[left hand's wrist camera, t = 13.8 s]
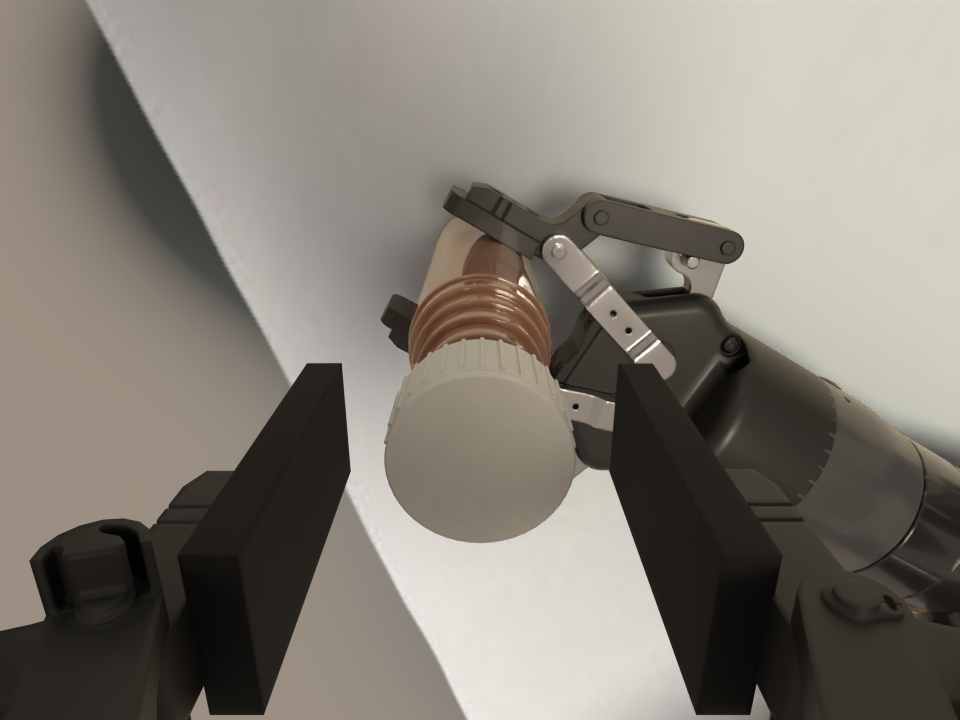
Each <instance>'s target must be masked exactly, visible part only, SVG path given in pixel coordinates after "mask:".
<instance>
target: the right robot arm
mask: <svg viewBox="0 0 960 720" xmlns="http://www.w3.org/2000/svg"><path fill="white" fill-rule="evenodd" d="M443 208H444V209H445V210H447V211H448V212H450V213H451V214H453V215H454V216H456V217H458V218H459V219H461V220H463V221H465V222H466V223H468V224H470V225H471V226H473V227H475V228H477V229H478V230H480V231H482V232H484V233H485V234H487V235H489V236H490V237H492V238H494V239H496V240H497V241H499V242H501V243H502V244H504V245H506V246H508V247H510V248H512V249H513V250H515V251H516V252H518V253H520V254H521V255H523V256H525V257H526V258H528V259H530V260H531V259H532V257H533V255H536V256H538V257H539V258H541V259H543V260H544V261H545V262H546V263H547V264H548V266H549V267H550V268H551V269H552V270H553V271H554V272H555V273H556V274H557V275H558V276H559V278H560V279H561V280H562V281H563V282H564V283H565V284H566V285H567V286H568V287H569V289H570V290H571V291H572V292H573V293H574V294H575V295H576V296H577V298H578V299H579V300H580V302H581V303H582V304H583V305H584V306H585V307H584V309H583V310H582V312H581V313H580V315H579V316H578V319H577V322H576V325H575V328H574V331H573V334H572V335H571V336H570V337H569V338H568V339H567V340H566V341H565V342H564V343H563V344H562V345H560V346H559V347H558V348H557V350H556V351H555V353H554V354H553V356H552V357H551V362H550V366H549V371H550V374H551V376H552V377H553V379H554V380H556V379H557V381H558V383H559V387H560V390H561V394H562V395H564V399H565V402H566V405H567V409H568V412H569V416H570V419H571V423H572V426H573V431H572V433H573V436H574V440H575V444H576V448H575V459H576V464H575V471H574V476H573V478H574V477H576V476H577V475H578V474H580V473H581V472H582V471H584V470H585V469H586V468H587V467H590V468H592V469H596V470H609V469H610V457H611V445H612V433H613V421H614V409H615V397H616V385H617V373H618V363H653V364H654V366H655V367H656V369H657V370H658V372H659V373H660V375H661V376H662V378H663V379H664V381H665V382H666V384H667V385H668V387H669V388H670V390H671V391H672V392H673V394H674V395H675V397H676V398H677V400H678V401H679V403H680V404H681V406H682V407H683V409H684V410H685V412H686V413H687V415H688V416H689V418H690V419H691V420H692V422H693V423H694V425H695V426H696V428H697V429H698V431H699V432H700V434H701V435H702V437H703V438H704V440H705V441H706V443H707V444H708V446H709V447H710V448H711V450H712V451H713V453H714V454H715V456H716V457H717V459H718V460H719V462H720V463H721V465H722V466H723V468H724V469H754V470H756V471H757V472H759V473H760V474H762V475H763V476H765V477H766V478H768V479H769V480H771V481H772V482H774V483H776V484H777V485H778V486H779V487H780V489H781V490H782V491H783V493H784V494H785V495H786V496H787V498H788V499H789V500H790V501H791V503H792V506H795V508H796V509H797V510H798V512H799V513H800V514H801V515H802V517H803V518H804V522H807V523H808V524H809V525H810V527H811V528H812V529H813V531H814V532H815V533H816V534H817V536H818V537H819V538H820V539H821V541H822V542H823V543H824V544H825V546H826V547H827V548H828V549H829V551H830V552H831V553H832V555H833V556H834V557H835V558H836V560H837V561H838V562H839V563H840V565H841V566H842V567H843V568H844V570H845V571H849V572H852V573H856V574H859V575H863V576H866V577H868V578H870V579H872V580H874V581H876V582H878V583H880V584H882V585H884V586H886V587H888V588H889V589H890V590H892V591H893V592H894V593H895V594H897V595H898V596H899V597H900V598H902V599H903V600H904V601H905V603H906V604H907V605H908V607H909V608H910V610H911V611H912V613H913V614H914V616H915V618H918V619H921V620H925V621H928V622H933V623H937V624H942V625H947V626H951V627H956V628H960V469H959V468H958V467H956V466H954V465H953V464H951V463H950V462H948V461H946V460H945V459H943V458H942V457H940V456H938V455H937V454H935V453H933V452H932V451H930V450H928V449H927V448H925V447H923V446H922V445H920V444H918V443H917V442H915V441H913V440H912V439H910V438H908V437H907V436H905V435H903V434H901V433H900V432H898V431H897V430H895V429H894V428H893V427H892V426H890V425H889V424H888V423H887V422H886V421H884V420H883V419H882V418H881V417H880V416H879V415H877V414H876V413H875V412H874V411H872V410H871V409H870V408H869V407H867V406H866V405H864V404H863V403H861V402H860V401H858V400H856V399H855V398H853V397H851V396H850V395H848V394H846V393H845V392H843V391H842V390H841V389H840V388H839V387H838V386H837V385H836V384H835V383H833V382H831V381H829V380H827V379H825V378H823V377H818V376H816V375H815V374H813V373H811V372H810V371H808V370H806V369H805V368H803V367H801V366H800V365H798V364H796V363H795V362H793V361H791V360H790V359H788V358H786V357H785V356H783V355H781V354H780V353H778V352H776V351H775V350H773V349H771V348H770V347H768V346H766V345H765V344H763V343H761V342H760V341H758V340H756V339H755V338H753V337H751V336H750V335H748V334H746V333H745V332H743V331H741V330H740V329H738V328H736V327H735V326H733V325H731V324H730V323H728V322H727V321H726V320H725V318H724V317H723V315H722V313H721V310H720V308H719V306H718V305H717V304H716V302H715V301H714V300H713V299H712V297H713V295H714V292H715V289H716V287H717V284H718V281H719V279H720V276H721V273H722V271H723V268H724V265H725V264H730V263H732V262H734V261H736V260H737V259H738V258H739V257H740V256H741V254H742V253H743V250H744V241H743V239H742V237H741V236H740V235H739V234H738V233H736V232H734V231H732V230H730V229H728V228H726V227H724V226H722V225H720V224H718V223H716V222H714V221H711V220H706V219H702V218H698V217H694V216H690V215H686V214H682V213H677V212H673V211H669V210H665V209H661V208H657V207H653V206H648V205H644V204H640V203H636V202H632V201H628V200H624V199H619V198H615V197H611V196H607V195H603V194H599V193H594V192H588V193H585V194H583V195H582V196H581V197H580V198H579V199H578V200H577V202H576V204H575V205H573V206H572V207H571V208H570V209H569V210H567V211H566V212H565V213H564V214H562V215H561V216H559V217H556V218H545V217H542V216H540V215H538V214H537V213H535V212H533V211H532V210H530V209H528V208H527V207H525V206H523V205H522V204H520V203H518V202H517V201H515V200H513V199H512V198H510V197H508V196H507V195H505V194H503V193H502V192H500V191H498V190H497V189H495V188H493V187H492V186H490V185H488V184H484V183H477V182H473V184H472V186H471V188H470V189H469V191H468V193H467V192H466V191H464V190H462V189H460V188H458V187H456V186H453V187H452V189H451V191H450V192H449V194H448V196H447V198H446V200H445V202H444V204H443ZM599 235H602V236H606V237H611V238H615V239H619V240H623V241H628V242H632V243H636V244H640V245H644V246H649V247H653V248H657V249H661V250H666V251H665V259H666V261H667V263H668V264H669V265H670V266H671V267H672V268H673V269H675V270H676V271H677V272H679V273H681V274H682V275H683V277H684V286H683V287H674V288H663V289H653V290H643V291H633V292H623V293H620V292H619V291H618V290H617V288H616V287H615V286H614V285H613V284H612V283H611V282H610V281H609V279H608V278H607V277H606V276H605V275H604V274H603V273H602V272H601V270H600V269H599V268H598V267H597V266H596V265H595V264H594V263H593V261H592V260H591V259H590V258H589V257H588V256H587V255H586V254H585V253H584V252H583V251H582V249H583V248H584V247H586V246H587V245H588V244H589V243H591V242H592V241H593V240H594V239H596V238H597V237H598V236H599ZM416 307H417V304H416V303H414V302H412V301H410V300H408V299H406V298H405V297H403V296H400V295H397V294H394V295H393V296H392V297H391V299H390V301H389V303H388V305H387V307H386V308H385V310H384V313H383V315H382V317H381V321H382V323H383V324H385V325H386V326H387V327H389V328H391V332H390V334H389V338H390V339H391V341H392V342H393V343H394V344H395V345H396V346H397V347H398V348H400V349H402V350H403V351H405V352H407V353H409V331H410V326H411V322H412V319H413V316H414V313H415V310H416Z"/></svg>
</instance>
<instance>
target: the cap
mask: <svg viewBox="0 0 960 720" xmlns="http://www.w3.org/2000/svg"><path fill="white" fill-rule="evenodd" d="M572 431H573V426H572V423H571V419H570V416H569V412H568V409H567V405H566V402H565V399H564V395H562V394H561V390H560V387H559V383H558V381H557V379H556V380H554V379H553V377H552V376H551V374H550V371H549V368H548V367H547V366H545V367H544V366H543V365H542V364H541V363H540V362H539V361H538V360H537V359H536V355H534V354H532V355H530V354H529V353H527V352H526V351H524V350H522V349H521V348H520V346H519V345H517V346H513V345H510V344H507V343H504V342H503V340H500V339H499V341H495V340H485V339H484V337H480V339H474V340H465V339H462V340H461V341H460V342H456V343H453V344H450V345H448V344H447V343H446V344H444V346H443V347H442V348H440V349H438V350H436V351H435V352H433V353H432V352H431V351H430V352H429V353H428V354H427V357H426V358H425V359H423V360H422V361H421V362H420V363H419V364H418V363H416V364H415V365H414V368H413V370H412V372H411V373H410V375H409V376H408V377H407V376H405V378H404V380H403V383H402V387H401V390H400V392H399V391H398V392H397V396H396V399H395V403H394V406H393V409H392V413H391V416H390V420H389V423H388V431H387V434H386V438H385V442H384V444H386V448H385V470H386V476H387V479H388V483H389V486H390V488H391V490H392V492H393V494H394V496H395V498H396V499H397V501H398V502H399V504H400V505H401V506H402V508H403V509H404V510H405V511H406V512H407V513H408V514H409V515H410V516H411V517H412V518H413V519H414V520H415V521H416V522H418V523H419V524H421V525H422V526H424V527H425V528H427V529H429V530H430V531H432V532H434V533H436V534H439V535H441V536H444V537H447V538H450V539H454V540H458V541H464V542H473V543H487V542H496V541H502V540H506V539H510V538H514V537H516V536H519V535H521V534H524V533H526V532H528V531H530V530H532V529H533V528H535V527H537V526H538V525H539V524H541V523H542V522H544V521H545V520H546V519H547V518H548V517H549V516H550V515H551V514H553V513H554V511H555V510H556V509H557V508H558V507H559V505H560V504H561V503H562V501H563V499H564V498H565V496H566V495H567V492H568V490H569V488H570V486H571V483H572V480H573V476H574V471H575V464H576V459H575V448H576V444H575V440H574V436H573V433H572Z"/></svg>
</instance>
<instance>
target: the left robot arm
mask: <svg viewBox="0 0 960 720" xmlns="http://www.w3.org/2000/svg"><path fill="white" fill-rule="evenodd" d="M350 472H351V469H350V457H349V445H348V433H347V421H346V409H345V397H344V385H343V373H342V363H307V364H306V366H305V367H304V369H303V370H302V372H301V373H300V375H299V376H298V378H297V379H296V381H295V382H294V384H293V385H292V387H291V388H290V390H289V391H288V393H287V394H286V395H285V397H284V398H283V400H282V401H281V403H280V404H279V406H278V407H277V409H276V410H275V412H274V413H273V415H272V416H271V418H270V419H269V421H268V422H267V423H266V425H265V426H264V428H263V429H262V431H261V432H260V434H259V435H258V437H257V438H256V440H255V441H254V443H253V444H252V446H251V447H250V448H249V450H248V451H247V453H246V454H245V456H244V457H243V459H242V460H241V462H240V463H239V465H238V466H237V468H236V469H235V471H206V472H205V473H203V474H202V475H200V476H199V477H197V478H196V479H194V480H193V481H191V482H190V483H188V484H187V485H185V486H184V487H183V488H182V489H181V490H180V491H179V493H178V494H177V495H176V496H175V498H174V499H173V500H172V502H171V503H170V504H169V508H168V509H165V510H164V512H163V513H162V514H161V516H160V517H159V518H158V519H157V524H154V525H153V526H152V527H151V528H150V530H149V528H147V527H146V526H145V525H143V524H142V523H141V522H139V521H134V520H129V519H124V518H123V519H107V520H100V521H96V522H92V523H88V524H84V525H80V526H78V527H76V528H73V529H71V530H69V531H67V532H64V533H62V534H60V535H58V536H56V537H55V538H53V539H52V540H51V541H49V542H48V543H46V544H45V545H43V546H42V547H40V549H39V550H38V551H37V552H36V553H35V555H34V556H33V557H32V558H31V560H30V564H31V568H32V571H33V574H34V577H35V581H36V584H37V587H38V591H39V594H40V597H41V600H42V603H43V607H44V610H45V613H46V617H45V619H44V621H42V622H38V623H35V624H31V625H26V626H22V627H17V628H12V629H8V630H3V631H0V720H191V716H190V713H191V711H192V709H193V707H194V705H195V703H196V701H197V699H198V696H199V695H200V692H201V690H202V688H203V686H204V689H205V694H206V698H207V703H208V708H209V713H210V715H264V713H265V710H266V707H267V704H268V702H269V699H270V696H271V693H272V690H273V688H274V685H275V682H276V679H277V676H278V674H279V671H280V668H281V665H282V662H283V659H284V657H285V654H286V651H287V648H288V646H289V643H290V640H291V637H292V634H293V631H294V629H295V626H296V623H297V620H298V617H299V615H300V612H301V609H302V606H303V603H304V601H305V598H306V595H307V592H308V589H309V587H310V584H311V581H312V578H313V575H314V573H315V570H316V567H317V564H318V561H319V559H320V556H321V553H322V550H323V547H324V544H325V542H326V539H327V536H328V533H329V531H330V528H331V525H332V522H333V519H334V517H335V514H336V511H337V508H338V505H339V503H340V500H341V497H342V494H343V491H344V489H345V486H346V483H347V480H348V477H349V474H350ZM609 472H610V474H611V477H612V480H613V483H614V486H615V489H616V491H617V494H618V497H619V500H620V503H621V505H622V508H623V511H624V514H625V517H626V519H627V522H628V525H629V528H630V531H631V533H632V536H633V539H634V542H635V545H636V547H637V550H638V553H639V556H640V559H641V561H642V564H643V567H644V570H645V573H646V575H647V578H648V581H649V584H650V587H651V589H652V592H653V595H654V598H655V601H656V603H657V606H658V609H659V612H660V615H661V617H662V620H663V623H664V626H665V629H666V631H667V634H668V637H669V640H670V643H671V646H672V648H673V651H674V654H675V657H676V660H677V662H678V665H679V668H680V671H681V674H682V676H683V679H684V682H685V685H686V688H687V690H688V693H689V696H690V699H691V702H692V704H693V707H694V710H695V713H696V715H750V713H751V708H752V703H753V698H754V694H755V689H756V684H757V685H758V687H759V689H760V691H761V693H762V695H763V698H764V700H765V702H766V704H767V706H768V708H769V710H770V716H769V720H960V628H956V627H951V626H947V625H942V624H937V623H933V622H928V621H925V620H921V619H918V618H915V616H914V614H913V613H912V611H911V610H910V608H909V607H908V605H907V604H906V603H905V601H904V600H903V599H902V598H900V597H899V596H898V595H897V594H895V593H894V592H893V591H892V590H890V589H889V588H888V587H886V586H884V585H882V584H880V583H878V582H876V581H874V580H872V579H870V578H868V577H866V576H863V575H859V574H856V573H852V572H849V571H845V570H844V568H843V567H842V566H841V565H840V563H839V562H838V561H837V560H836V558H835V557H834V556H833V555H832V553H831V552H830V551H829V549H828V548H827V547H826V546H825V544H824V543H823V542H822V541H821V539H820V538H819V537H818V536H817V534H816V533H815V532H814V531H813V529H812V528H811V527H810V525H809V524H808V523H807V522H804V518H803V517H802V515H801V514H800V513H799V512H798V510H797V509H796V508H795V506H792V503H791V501H790V500H789V499H788V498H787V496H786V495H785V494H784V493H783V491H782V490H781V489H780V487H779V486H778V485H777V484H776V483H774V482H772V481H771V480H769V479H768V478H766V477H765V476H763V475H762V474H760V473H759V472H757V471H756V470H754V469H724V468H723V466H722V465H721V463H720V462H719V460H718V459H717V457H716V456H715V454H714V453H713V451H712V450H711V448H710V447H709V446H708V444H707V443H706V441H705V440H704V438H703V437H702V435H701V434H700V432H699V431H698V429H697V428H696V426H695V425H694V423H693V422H692V420H691V419H690V418H689V416H688V415H687V413H686V412H685V410H684V409H683V407H682V406H681V404H680V403H679V401H678V400H677V398H676V397H675V395H674V394H673V392H672V391H671V390H670V388H669V387H668V385H667V384H666V382H665V381H664V379H663V378H662V376H661V375H660V373H659V372H658V370H657V369H656V367H655V366H654V364H653V363H618V373H617V385H616V397H615V409H614V421H613V433H612V445H611V457H610V469H609Z"/></svg>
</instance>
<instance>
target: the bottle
mask: <svg viewBox="0 0 960 720" xmlns="http://www.w3.org/2000/svg"><path fill="white" fill-rule="evenodd" d="M480 337H484V339H485V340H495V341H499V339H500V340H503V342H504V343H507V344H510V345H513V346H517V345H519V346H520V348H521V349H522V350H524V351H526V352H527V353H529V354H530V355H532V354H534V355H536V359H537V360H538V361H539V362H540V363H541V364H542V365H543V366H544V367H545V366H547V367H548V368H549V366H550V362H551V354H552V351H551V346H552V335H551V329H550V324H549V321H548V318H547V315H546V312H545V309H544V306H543V303H542V300H541V296H540V293H539V290H538V287H537V284H536V281H535V278H534V275H533V272H532V268H531V265H530V262H529V259H528V258H526V257H525V256H523V255H521V254H520V253H518V252H516V251H515V250H513V249H512V248H510V247H508V246H506V245H504V244H502V243H501V242H499V241H497V240H496V239H494V238H492V237H490V236H489V235H487V234H485V233H484V232H482V231H480V230H478V229H477V228H475V227H473V226H471V225H470V224H468V223H466V222H465V221H463V220H461V219H459V218H458V217H455V218H454V219H452V220H451V221H450V222H449V223H448V224H447V225H446V226H445V228H444V229H443V231H442V232H441V234H440V236H439V238H438V242H437V245H436V248H435V251H434V254H433V257H432V260H431V263H430V266H429V269H428V273H427V276H426V279H425V282H424V285H423V288H422V291H421V294H420V297H419V300H418V304H417V307H416V310H415V313H414V316H413V319H412V322H411V326H410V331H409V360H410V365H411V369H412V370H413V368H414V365H415V364H416V363H418V364H419V363H420V362H421V361H422V360H423V359H425V358H426V357H427V354H428V353H429V352H430V351H431V352H432V353H433V352H435V351H436V350H438V349H440V348H442V347H443V346H444V344H446V343H447V344H448V345H450V344H453V343H456V342H460V341H461V340H462V339H465V340H474V339H480Z"/></svg>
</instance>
